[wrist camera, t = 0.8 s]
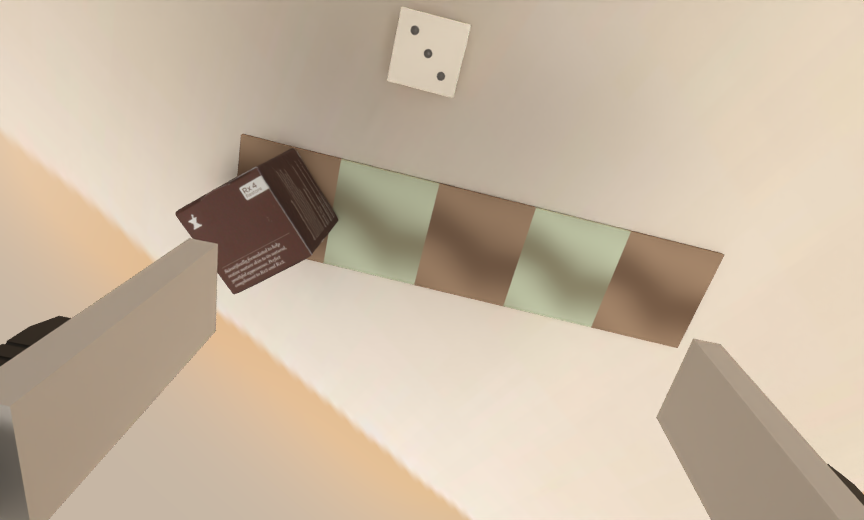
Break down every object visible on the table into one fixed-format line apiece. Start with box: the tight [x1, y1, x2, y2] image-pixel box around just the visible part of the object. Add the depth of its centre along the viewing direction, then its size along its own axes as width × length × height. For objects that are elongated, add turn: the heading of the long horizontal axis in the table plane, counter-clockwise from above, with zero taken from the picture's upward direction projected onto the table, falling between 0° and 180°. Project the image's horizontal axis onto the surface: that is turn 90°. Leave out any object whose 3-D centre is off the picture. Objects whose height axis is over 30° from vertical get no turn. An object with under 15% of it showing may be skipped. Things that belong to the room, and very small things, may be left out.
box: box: [176, 148, 338, 294], centre depth 32 cm, size 6×6×7 cm
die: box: [387, 6, 471, 98], centre depth 30 cm, size 4×4×4 cm
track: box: [237, 134, 724, 348], centre depth 36 cm, size 8×35×1 cm, turn 76°
